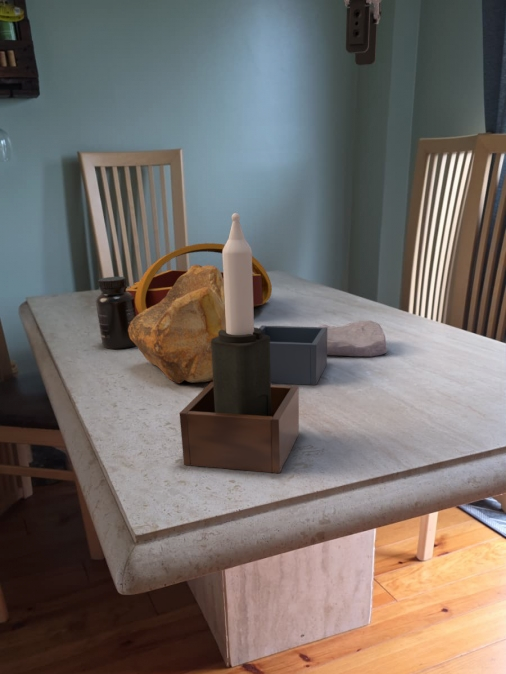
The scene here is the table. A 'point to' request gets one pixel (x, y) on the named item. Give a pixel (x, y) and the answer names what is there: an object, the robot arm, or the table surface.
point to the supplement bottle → (115, 312)
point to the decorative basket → (159, 285)
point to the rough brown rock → (183, 326)
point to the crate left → (240, 433)
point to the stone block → (356, 339)
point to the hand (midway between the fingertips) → (361, 59)
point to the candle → (240, 338)
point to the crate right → (296, 353)
